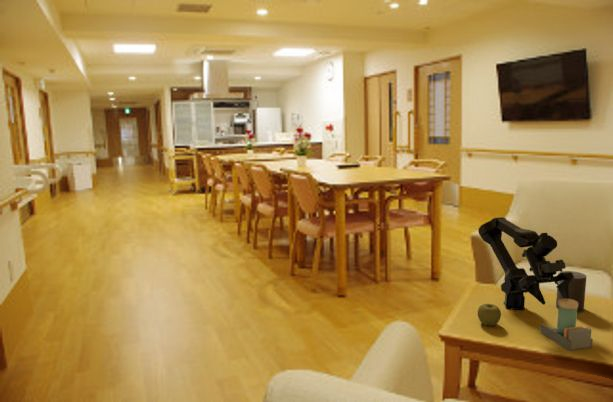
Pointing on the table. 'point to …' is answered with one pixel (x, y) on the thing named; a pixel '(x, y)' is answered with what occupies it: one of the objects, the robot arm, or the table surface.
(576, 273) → the pillar candle
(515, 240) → the robot arm
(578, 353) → the table surface
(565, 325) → the jar
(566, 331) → the plate
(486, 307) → the apple
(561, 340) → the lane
